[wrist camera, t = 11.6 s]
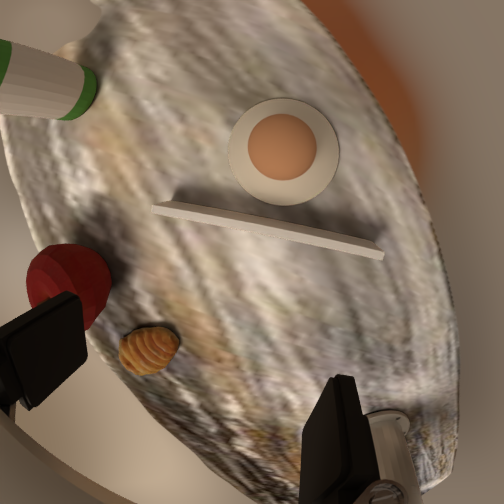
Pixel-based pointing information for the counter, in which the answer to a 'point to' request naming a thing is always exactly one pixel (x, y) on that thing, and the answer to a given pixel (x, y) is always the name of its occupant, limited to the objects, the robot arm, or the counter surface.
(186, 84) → the counter surface
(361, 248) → the wall
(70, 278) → the apple
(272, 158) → the ball
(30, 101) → the wine bottle
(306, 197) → the saucer
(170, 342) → the pastry
